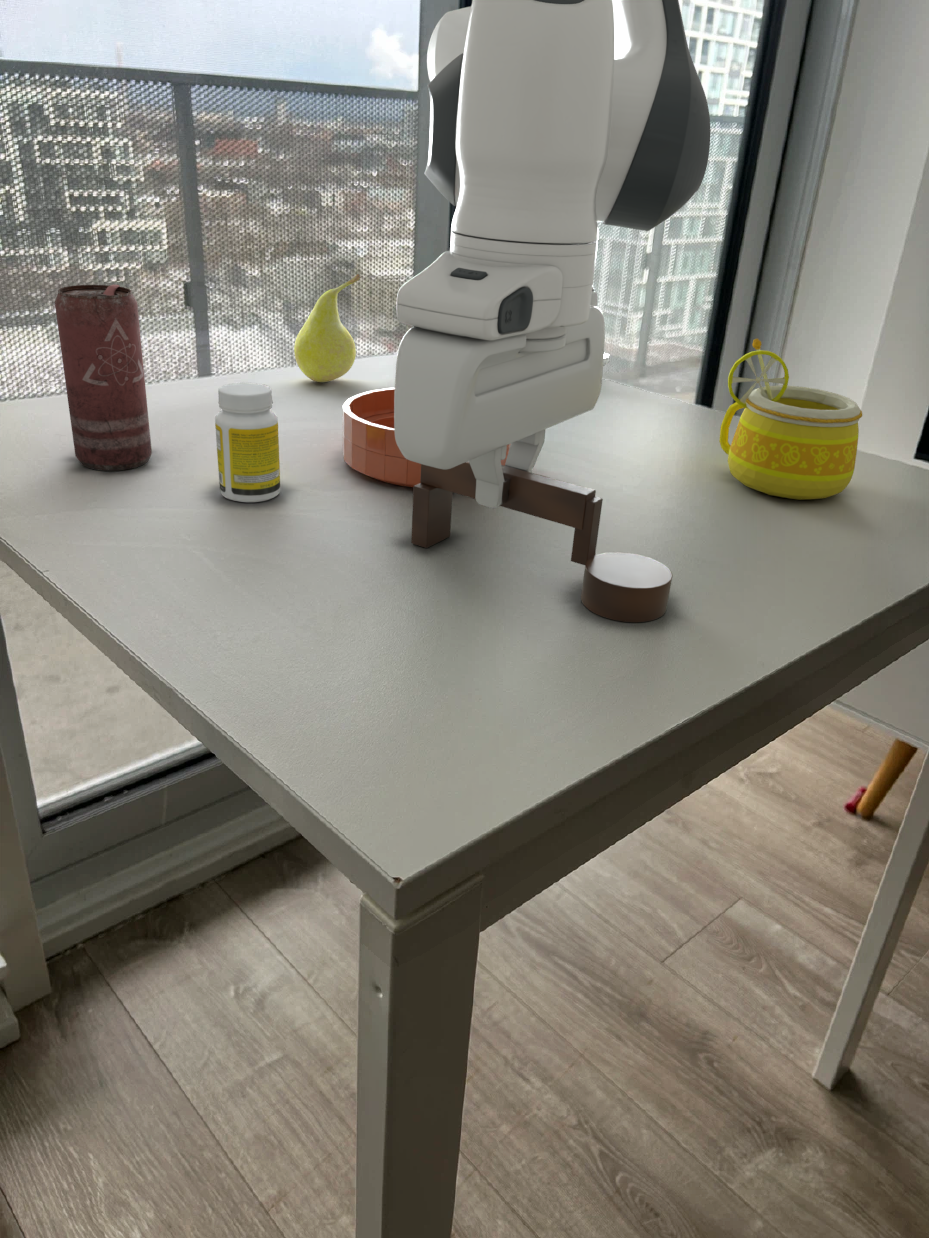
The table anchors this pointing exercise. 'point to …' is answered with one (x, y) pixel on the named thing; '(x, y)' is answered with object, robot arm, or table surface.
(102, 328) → the can
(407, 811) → the table surface
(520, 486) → the brown bridge
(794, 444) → the mug
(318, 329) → the fruit
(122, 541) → the table surface
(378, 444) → the bowl
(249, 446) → the supplement bottle
